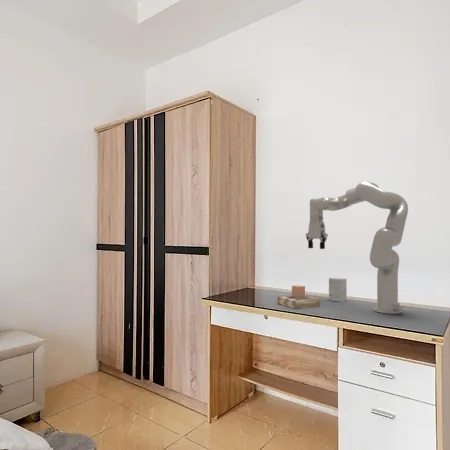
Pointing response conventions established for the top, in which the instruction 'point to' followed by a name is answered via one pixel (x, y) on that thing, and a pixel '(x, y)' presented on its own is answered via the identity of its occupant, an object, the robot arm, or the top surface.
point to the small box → (337, 289)
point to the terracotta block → (298, 291)
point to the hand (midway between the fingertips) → (316, 248)
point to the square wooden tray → (298, 302)
